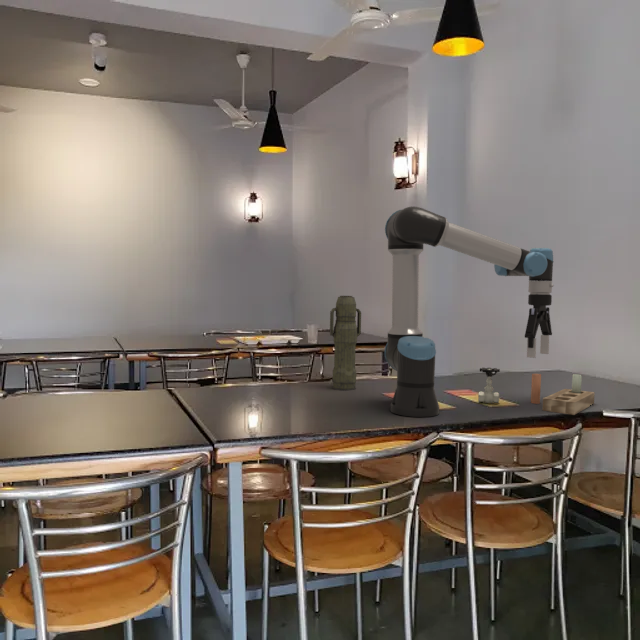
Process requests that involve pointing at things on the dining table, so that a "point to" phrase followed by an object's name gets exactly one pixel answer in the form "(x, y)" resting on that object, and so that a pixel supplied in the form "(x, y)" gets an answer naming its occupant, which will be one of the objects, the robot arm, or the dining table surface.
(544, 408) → the beech block
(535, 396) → the terracotta peg
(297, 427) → the dining table surface
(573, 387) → the sage peg
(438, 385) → the dining table surface
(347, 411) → the dining table surface
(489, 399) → the valve
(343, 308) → the thermos
